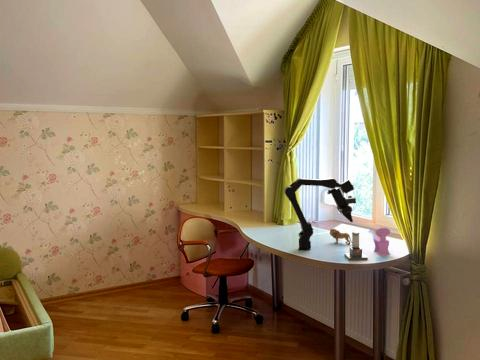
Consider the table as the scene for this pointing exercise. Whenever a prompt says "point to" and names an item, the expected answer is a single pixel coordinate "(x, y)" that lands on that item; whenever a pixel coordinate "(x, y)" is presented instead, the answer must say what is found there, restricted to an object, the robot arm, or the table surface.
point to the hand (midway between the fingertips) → (350, 220)
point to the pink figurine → (382, 241)
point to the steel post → (355, 240)
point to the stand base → (355, 255)
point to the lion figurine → (339, 235)
